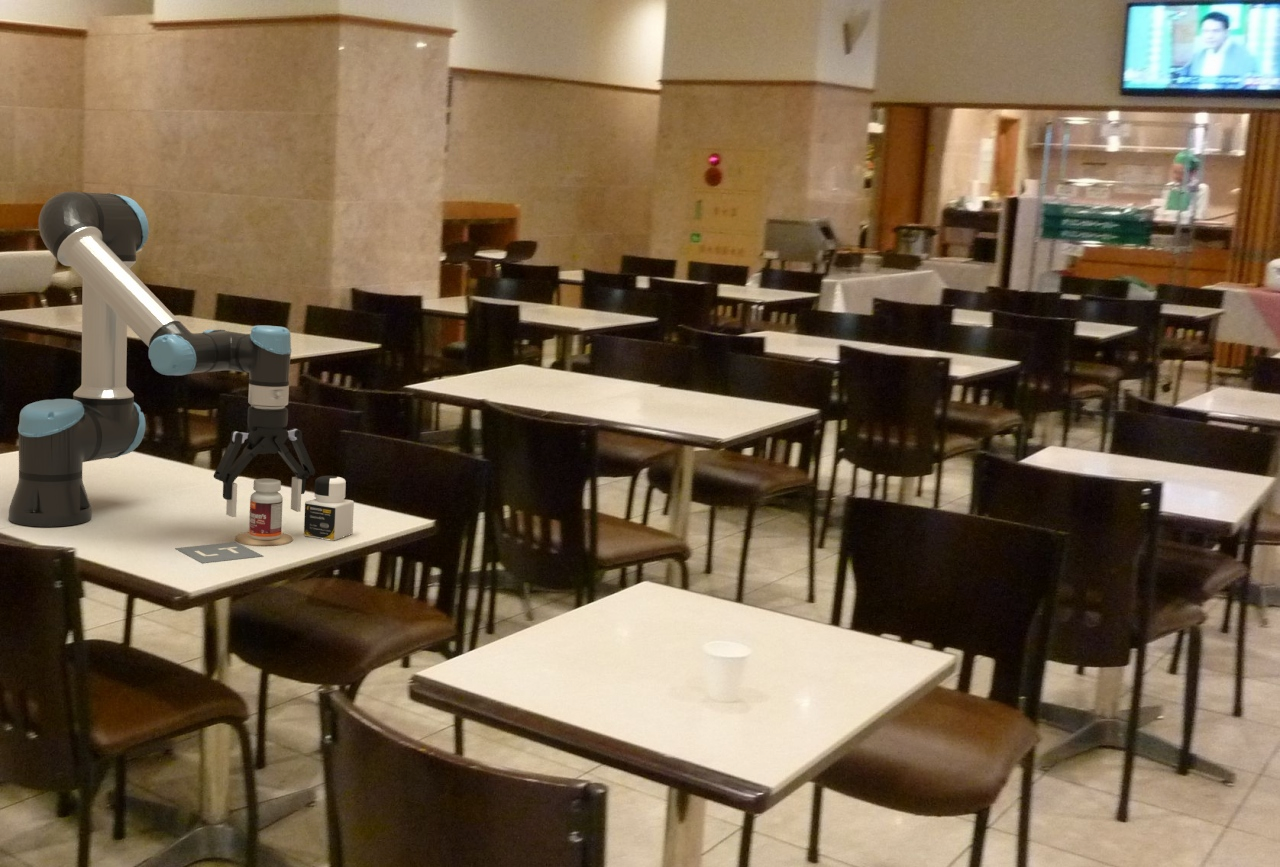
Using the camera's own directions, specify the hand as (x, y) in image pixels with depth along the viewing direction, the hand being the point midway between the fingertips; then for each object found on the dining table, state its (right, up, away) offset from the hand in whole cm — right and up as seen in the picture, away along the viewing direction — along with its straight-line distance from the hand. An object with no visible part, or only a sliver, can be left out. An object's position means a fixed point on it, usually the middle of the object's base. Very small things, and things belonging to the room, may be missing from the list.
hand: (263, 513), depth 270 cm
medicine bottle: (+11, -5, +8) cm, 14 cm away
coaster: (0, -5, +1) cm, 5 cm away
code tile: (-5, -7, -12) cm, 14 cm away
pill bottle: (0, -5, +1) cm, 5 cm away
